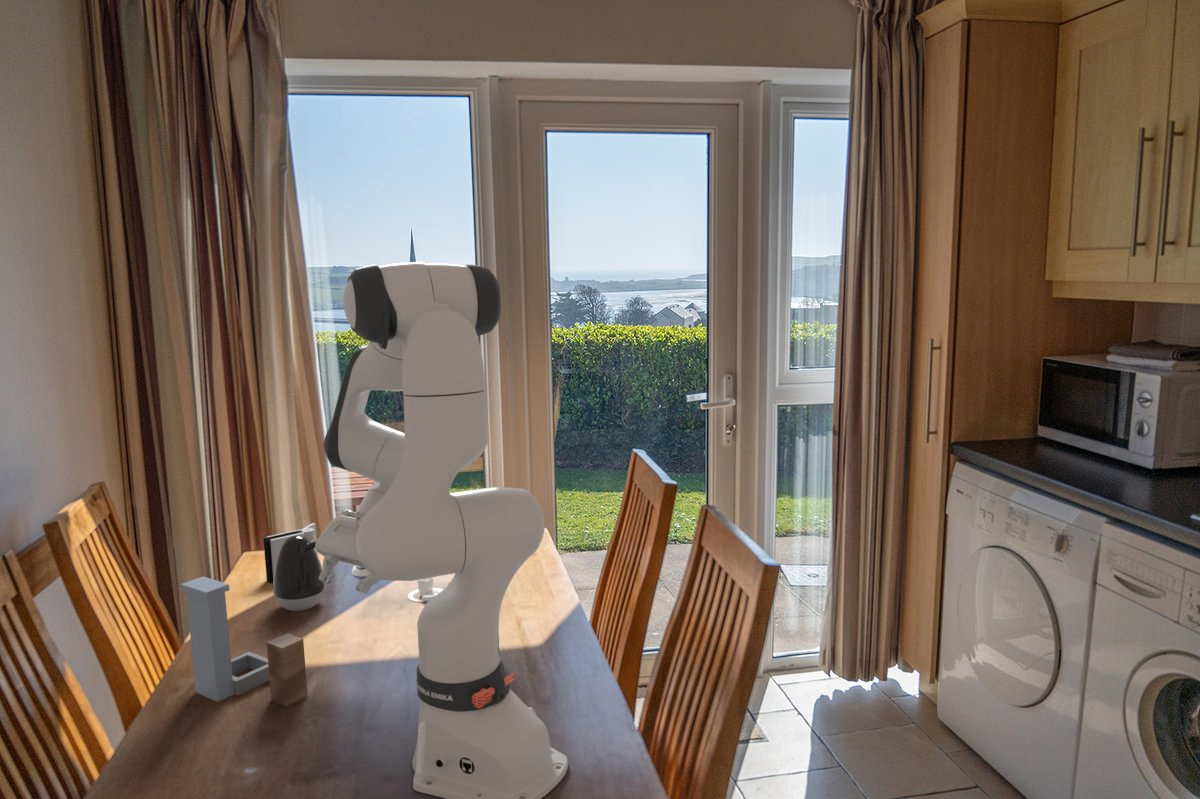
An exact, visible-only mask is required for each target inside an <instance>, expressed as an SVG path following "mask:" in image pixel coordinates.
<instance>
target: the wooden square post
mask: <svg viewBox="0 0 1200 799" xmlns="http://www.w3.org/2000/svg"><path fill="white" fill-rule="evenodd" d="M266 652H267V653H266V654H267V658H268V667H269V679H270V680H269V688H270V690H269V691H270V699H271V700H270V701H272V702H274V703H277V704H279V705H281V706H285V707H289V706H292V705H294V704H295V703H297V702H299V701H301V700H303V699H304V698H306V697H308V685H307V684H308V683H307V671H306V670H307V669H306V661H305V660H306V658H305V657H306V655H305V645H304V638H302V637H300V636H296V635H293V634H290V633H288V632H287V633H284V634H283V635H281V636H279V637H276V638H274V639H272V640H270V641H267V642H266Z"/></svg>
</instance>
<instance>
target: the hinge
mask: <svg viewBox="0 0 1200 799" xmlns="http://www.w3.org/2000/svg"><path fill="white" fill-rule="evenodd" d="M295 535H300V536H304V537H305V538H307V539H308V540H309V541H310V543H311V542H315V541H317V540H318V539H317V525H316V523H315V522H312V523H310V524H308V525H306V526H305V527H303V528H299V529H296V530H291V531H290V530H289V531H286V532H281V533H277V534H273V535H268V536H266V537H263V549H264V551H263V552H264V561H265V562H264V563H265V573H266V574H265V575H266V581H267V582H268V583H269V584H273V583H272V582H273V581H274V571H275V566H276V562H277V558H278V555H279V552H280V549H281V547H282V545H283V543H284V542H285V541H286V540H287V539H288V538H289V537H291V536H295ZM314 549H315V548H314ZM315 551H316V549H315ZM316 553H317V555H318V556H319V552H318V551H316Z"/></svg>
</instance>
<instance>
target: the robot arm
mask: <svg viewBox="0 0 1200 799" xmlns="http://www.w3.org/2000/svg"><path fill="white" fill-rule="evenodd" d="M499 285H500V284H499V281H498V279H497V277H496V276H495V274H493V272H492V271H491V270H490V269H489V268H488V267H484V266H481V265H478V264H470V263H466V264H463V265H460V264H450V263H449V264H447V263H431V262H429V263H425V262H423V261H413V262H399V263H392V264H386V265H378V264H377V263H376V264H370V265H365V266H361V267H357V268H356V269H353V271H352V272H351V273H350V275H349V276H348V278H347V283H346V286H345V289H344V291H343V292H344V293H343V310H344V314H345V317H346V320H347V321H348V323H349V326H350V329H351V330H352V332H353V333H355V334H356V335H357V336H359V337H360V338H361V339H362V340H364V341H365V340H366V341H368V344H367V345H362V346H360V347H359V348H358V349H357V350H356V351H355V352H354V353H353V354H352V355H351V357H350V359H349V361H348V363H347V365H346V368H345V370H344V374H343V378H342V381H341V385H340V389H339V393H338V395H337V399H336V400H337V401H336V404H335V408H334V412H333V416H332V418H331V419H332V420H331V422H330V425H329V426H328V430H327V432H326V434H325V437H324V440H323V446H322V447H323V449H324V450H323V451H324V454H325V456H326V458H327V461H328V462H329V463H330V465H331V466H333V467H335V468H337V469H338V468H339V469H342V470H345V471H348V472H352V473H355V474H357V475H360V476H363V477H365V478H367V479H370V480H372V481H375V483H374V484H373V485H372V486H371V487H370V488H369V489H368V491H367V492H366V493H365V495H364V497H363V499H362V500H361V502H360V504H359V505H358V508H357V509H356V510H355V511H352V510H349V509H347V510H345V511H343V512H341V513H339V514H337V515H336V516H335V517H334V518H333V519H332V520H331V521H330V522H329V523H328V525H327V526H326V527H325V528H324V529H323V531H322V532H321V534H320V536H319V537H318V539H317V541H316V544H315V549H316V551H318V554H320V555H321V556H323V557H324V558H323V560H322V569H323V570H322V572H321V574H320V575H319V580H321V581H322V582H325V584H330V583H332V580H333V579H334V577H335V575H334V574H333V569H334V566H335V567H336V566H337V565H338V563H339V562H342V563H346V564H348V565H349V564H350V565H354V566H355V565H357V566H361V567H365V568H364V570H367V571H368V572H369V573H370V574H369V575H368V576H365V578H364V579H359V581H358V582H357V584H356V585H355V590H356V592H358V593H360V594H364V595H367V594H368V593H369V592H370V590H371V588H372V586H374V585H376V583H378V582H380V581H396V582H397V581H399V582H400V581H401V582H402V581H405V582H406V581H408V582H413V581H418V580H419V579H425V578H431V577H432V578H435V577H441V576H447V575H453V574H454V575H453V577H452V579H451V581H450V582H449V583H448V584H447V586H446V587H445V588H443V591H441V592H440V593H439V592H438V594H437V595H436V596H435V597H433V598H432V599H431V600H429V601H428V602H426V604H425V605H424V606H423V608H422V610H421V612H420V614H419V616H418V618H417V622H416V626H417V627H416V628H417V646H418V663H419V664H418V666H417V667H416V679H415V685H416V691H417V697H418V698H419V714H418V725H417V726H418V727H417V737H416V738H417V739H416V746H415V750H414V754H413V757H412V761H411V762H412V768H413V771H414V775H413V779H412V780H413V781H412V788H413V790H415V791H416V792H418V793H421V794H422V793H423V794H426V795H431V796H435V797H438V798H441V799H542V798H543V797H545V796H546V795H547V794H549V793H550V792H551V791H552V790H553V789H554V788H555V787H557V786H558V784H560V782H561V781H562V780H563V779H564V777H565V775H566V774H567V770H568V767H569V761H568V760H569V759H568V756H567V755H565V754H564V753H562V752H560V751H558V750H557V749H555V748H554V747H552V746H551V741H550V735H549V732H548V729H547V725H546V724H545V723H544V722H543V721H542V720H541V719H540V718H539V717H538V716H537V713H536V710H535V709H534V708H532V707H531V706H530V707H529V706H528V705H526V704H525V703H524V702H523V701H522V700H521V698H520V697H518V695H516V694H515V692H514V691H513V690H512V689H511V685H510V684H512V682H514V681H515V680H516V678H515V677H514V676H515V675H516V672H515V671H514V672H511V673H510V674H508V675H507V673H506V670H505V667H504V665H503V662H502V660H501V658H500V651H499V652H498V632H499V629H500V628H499V626H500V613H501V609H502V608H501V607H502V604H503V599H504V597H505V594H506V592H507V590H508V587H509V586H510V583H511V582H512V580H513V578H514V577H515V575H516V573H517V572H518V571H519V569H520V568H521V567H522V566H523V565H524V564H525V562H526V561H527V560H528V559H530V557H531V556H533V555H534V554H535V553H536V552H537V550H538V549H539V547H540V545H541V543H542V541H543V537H544V533H545V527H546V526H545V517H544V513H543V510H542V507H541V505H540V503H539V502H538V500H537V498H536V497H535V496H534V495H533V494H532V493H531V492H530V491H529V490H527V489H526V488H518V487H516V488H515V487H507V486H506V487H503V486H490V487H483V488H482V487H481V488H476V489H469V490H459V491H453V492H451V491H450V490H451V486H452V483H453V481H454V480H455V478H456V477H457V475H458V473H459V472H461V470H463V469H464V468H466V467H468V466H469V465H471V464H472V463H473V462H476V461H477V459H479V458H480V457H481V456H482V454H483V453H484V451H485V450H486V448H487V446H488V443H489V438H490V437H489V434H490V433H489V422H488V406H487V405H488V404H487V390H486V389H487V388H486V386H487V385H486V374H485V369H484V368H485V367H484V361H483V355H482V350H481V346H480V345H481V344H480V341H479V337H480V336H483V335H487V334H489V333H491V332H493V330H494V329H495V327H496V325H498V323H499V322H500V321H499V320H500V318H501V310H502V295H501V294H502V293H501V291H500V290H501V288H500V286H499ZM371 391H385V392H386V391H388V392H402V394H403V395H402V398H403V416H404V420H403V421H404V429H403V431H400V430H397V429H395V428H392V427H390V426H387V425H385V424H382V423H380V422H377V421H375V420H373V419H372V418H370V417H369V416H368V415H367V413H366V412H365V411H366V406H367V403H368V399H369V396H370V392H371ZM499 633H500V632H499ZM513 677H514V678H513Z"/></svg>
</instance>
